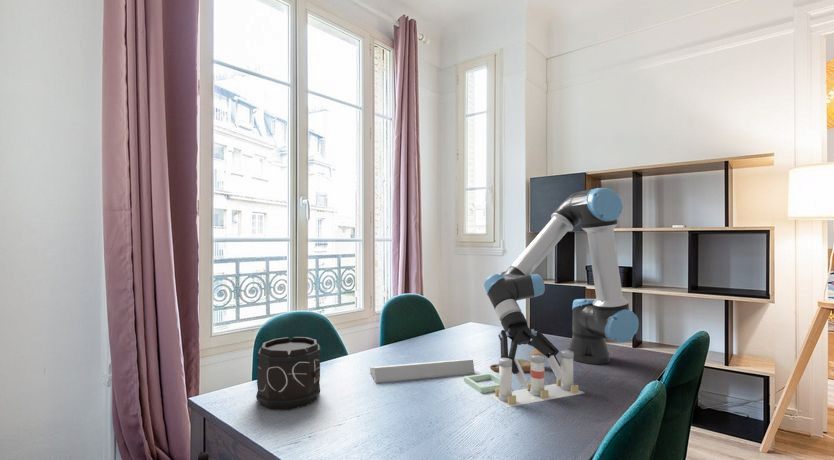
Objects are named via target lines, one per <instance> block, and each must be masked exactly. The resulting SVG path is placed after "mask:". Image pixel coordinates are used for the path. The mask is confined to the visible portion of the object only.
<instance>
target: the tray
mask: <svg viewBox="0 0 834 460" xmlns="http://www.w3.org/2000/svg"><path fill="white" fill-rule="evenodd" d="M487 380H491V381H493V382H494V383H493V384H487V385H481V384H479V383H477V382H480V381H487ZM463 382H464V384H466V385H468V386H469V387H470V388H472V389H473V390H475V391H477V392H478V393H480V394H484V393H491V392H495V389H496V388H499V375H495V374H494V373H492V372H487V373H480V374H471V375H466V376H463Z"/></svg>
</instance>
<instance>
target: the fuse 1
mask: <svg viewBox="0 0 834 460" xmlns="http://www.w3.org/2000/svg"><path fill="white" fill-rule="evenodd" d="M498 364H499V372H498V373H499V374H498V377H499V400H500V401H503V402H508V396H512V391H513V388H512V387H513V382H512V381H513V377H512V376H513V372H512V359H510V358H501V357H499V358H498Z"/></svg>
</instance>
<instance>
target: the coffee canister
mask: <svg viewBox="0 0 834 460" xmlns="http://www.w3.org/2000/svg"><path fill="white" fill-rule="evenodd" d="M321 351H322V350H321V346H320V344H319V343H318V341H317V339H314V338H312V337H307V336H292V337H291V339H290V337H289V336H286V337H280V338H273V339H271V340H268V341H264V342H263V343H262V344H261V347H260V348H259V349H258V352H257V354H256V358H257V359H258V362H257V371H256V372H257V374H256V385H257V393H256V394H255V398H256V400H257V401H259V405H260V406H262V407H264V408H266V409H268V410H277V411H279V410H282V411H290V410H293V409H294V410H295V409H298V408H302V407H307V406H308V405H310V404H311V403H313V402H314V401H316V400H317V398H318V396H319V395H320V393H321V385H320V380H321V379H320V378H321V359H320V354H322V352H321Z"/></svg>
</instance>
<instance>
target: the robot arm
mask: <svg viewBox="0 0 834 460" xmlns="http://www.w3.org/2000/svg"><path fill="white" fill-rule="evenodd" d="M623 208H624V206H623V202H622V199H621V197H620V195H619V194H618V193H617V192H616V191H614V190H613V189H611V188H608V187H596V188H592V189H587V190H581V191H577V192H574V193H572V194H571V195H569V196H568V197H567V198H566V199H564V201H562V202H561V203H560V204H559V206H558V207H557V208H556V209H555V210H554V211H553V213H552V214H551V215H550V218H551V219H550V220H549V221H548V222H547V224H546V225H544V227H543V228H542V229H541V230H540V231H539V233H538V234H537V235H536V236H535V238H534V239H533V240H532V241H531V242H530V243H529V245H528V246H527V247H526V248H525V249H524V250H523V251H522V252H521V253H520V255H519V256H518V257H517V259H515V260H514V262H513V263H512V264H511V265H510V266H509V267H508V268H507V270H505V271H501V272H500V273H496V274H495V273H494V274H491V275H489V276H488V277H487V278H486V279H485V280H484V282H483V286H484V290H485V292H486V295H487V297H488V299H489V300H490V303H491V305H492V306H493V309H494V310H495V313H496V316H497V317H498V319H499V321H500V324H501V326H502V328H503V329H502V330H501V331H500V332H499V333H498V338H499V342H500V358H510V359H512V375H515V377H516V378H517V381H518V383H519V385H520V387H524V386H525V385H527V384H528V379H527V377H526V375H525V372H523V370H522V368H521V366H520V364H519V362H518V360H515V361H514V359H516V354H517V350H518V346H521V345H528V346H530V347H533V348H534V349H537V350H538V351H539V352H541V353H542V354H544V356H545V358H547V359H546V361H547V363H548V365H549V366H550V368H551V370H552V372H553V374H554V376H555V378H556V379H557V380H561V379H562V378H563V377H564V374H563V372H562V370H561V362H559V360H558V358H557V355H558V354H559V353H560V351H559V349H558V348H557V347H556V346H555V345H554V344H553V343H552V342H551V341H550V339H548V338H547V337H546V336H545V335H544V334H543V333H542V332H541V330H540V329H539V327H538V326H535V327H534V328H530V327H529V325H528V321H527V319H526V317H525V315H524V313H523V312H522V309H521V308H520V306H519V304H518V302H517V301H522V300H526V299H531V298H536V297H539V296H542V295H544V293H545V291H546V286H545V281H544V279H543V277H542V276H541V275H540V274H538V273H535V274H533V272H534V271H535V270H536V269H537V267H538V266H540V264H541V263H542V262H543V261H544V260H545V258H546V257H547V256H548V255H549V254H550V252H551V251H552V250H553V249H554V248H555V246H556V245H557V244H558V243H559V242H560V241H561V240H562V239H563V237H564V236H565V235H566V234H567V233H568V232H572V231H573V230H574V229H575V227H577V226H579V225H580V224H581V229H582V230H583V231H585V232H586V234H587V240H588V246H589V247H588V248H589V249H588V250H589V255H590V261H591V269H592V277H593V284H594V290H595V298H575V299H574V300H573V302H572V308H571V311H572V338H571V341H570V344H569V347H568V348H567V350H569V351H573V352H574V358H573V361H576V362H579V363H585V364H593V365H599V364H601V365H603V364H608V363H610V362H611V354H610V352H609V350H608V346H607V343H606V339H607V340H609V341H611V342H617V343H627V342H629V341H631V340H632V339H633V338H634V336H635V335H637V333H638V330H639V325H640V322H639V318H638V315H636V313H634V312H633V311H632V310H631V309H630V305H629V304H630V303H629V301H628V299H626V298H625V297H624V296H623V289H622V281H621V276H620V275H621V274H620V269H619V268H620V267H619V261H618V254H617V246H616V240H615V232H614V229H615V228H616V227H617V226H618V224H619V223H618V218H619V217H620V216H621V214H622V212H623ZM508 338H509V339H508ZM509 340H511V342H510V348H509V345H508V344H509V343H508V341H509Z"/></svg>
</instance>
